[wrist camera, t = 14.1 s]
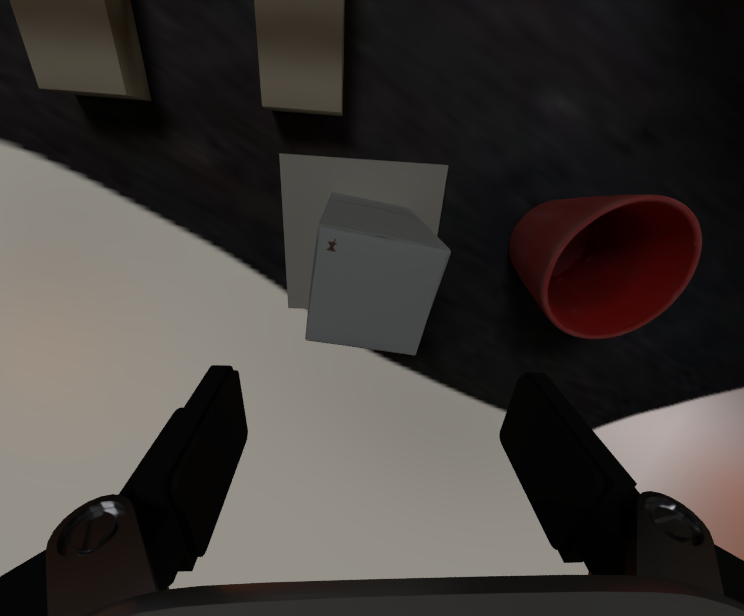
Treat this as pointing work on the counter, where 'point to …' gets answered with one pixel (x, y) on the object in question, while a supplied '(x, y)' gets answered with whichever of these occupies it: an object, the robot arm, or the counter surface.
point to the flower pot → (606, 260)
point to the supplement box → (373, 276)
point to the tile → (355, 178)
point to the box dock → (125, 63)
